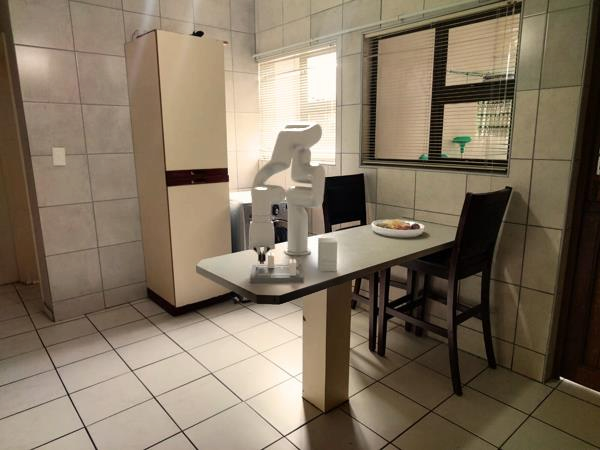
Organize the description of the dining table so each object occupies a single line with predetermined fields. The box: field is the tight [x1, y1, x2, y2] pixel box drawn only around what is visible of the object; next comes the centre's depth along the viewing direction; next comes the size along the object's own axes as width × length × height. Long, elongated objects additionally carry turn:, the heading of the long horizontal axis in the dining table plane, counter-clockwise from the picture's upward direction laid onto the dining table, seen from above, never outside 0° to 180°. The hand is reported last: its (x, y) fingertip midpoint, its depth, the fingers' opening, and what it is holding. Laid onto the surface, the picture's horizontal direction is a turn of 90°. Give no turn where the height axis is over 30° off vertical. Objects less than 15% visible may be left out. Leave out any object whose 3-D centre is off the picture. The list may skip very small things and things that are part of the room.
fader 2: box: [288, 258, 297, 276], centre depth 154 cm, size 5×2×5 cm, turn 3°
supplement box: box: [317, 237, 338, 272], centre depth 167 cm, size 7×7×13 cm
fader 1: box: [267, 252, 275, 268], centre depth 162 cm, size 5×2×5 cm, turn 4°
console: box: [249, 262, 304, 284], centre depth 159 cm, size 16×20×3 cm
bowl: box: [371, 218, 425, 238], centre depth 235 cm, size 30×30×8 cm
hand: (261, 262), depth 162 cm, fingers closed
